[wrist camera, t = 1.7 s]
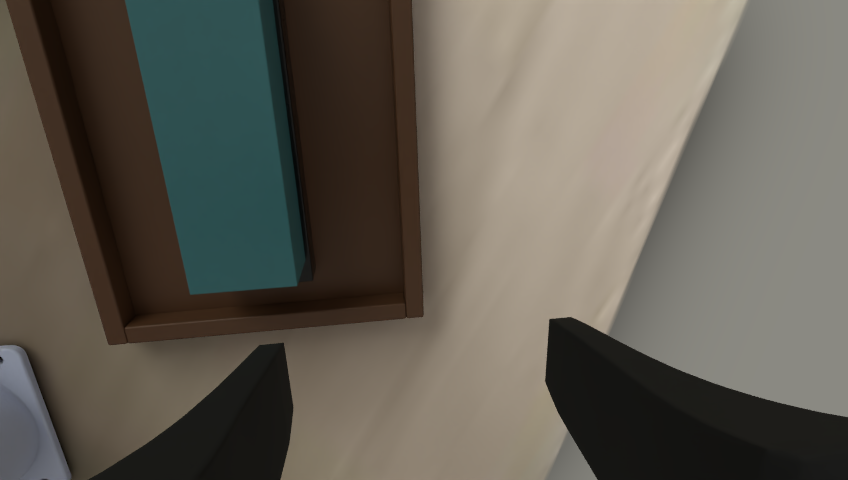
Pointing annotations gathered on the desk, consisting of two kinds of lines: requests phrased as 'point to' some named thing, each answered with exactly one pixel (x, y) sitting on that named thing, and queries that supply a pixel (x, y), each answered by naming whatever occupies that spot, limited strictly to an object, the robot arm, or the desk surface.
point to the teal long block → (227, 139)
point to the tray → (322, 157)
